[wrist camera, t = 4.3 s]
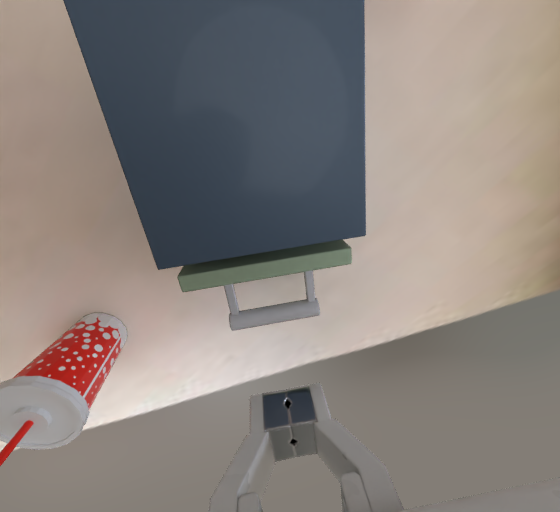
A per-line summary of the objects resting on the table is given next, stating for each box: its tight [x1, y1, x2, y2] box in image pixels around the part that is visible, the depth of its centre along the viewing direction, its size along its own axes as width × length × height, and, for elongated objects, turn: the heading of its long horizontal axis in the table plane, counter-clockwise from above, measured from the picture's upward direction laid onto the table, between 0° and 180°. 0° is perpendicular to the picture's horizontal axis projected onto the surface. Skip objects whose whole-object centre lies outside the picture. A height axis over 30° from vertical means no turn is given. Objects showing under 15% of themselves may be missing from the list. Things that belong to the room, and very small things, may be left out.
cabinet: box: [63, 0, 366, 270], centre depth 16 cm, size 15×13×8 cm
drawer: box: [178, 240, 352, 331], centre depth 18 cm, size 18×11×6 cm, turn 8°
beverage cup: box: [0, 313, 128, 466], centre depth 19 cm, size 6×6×14 cm
